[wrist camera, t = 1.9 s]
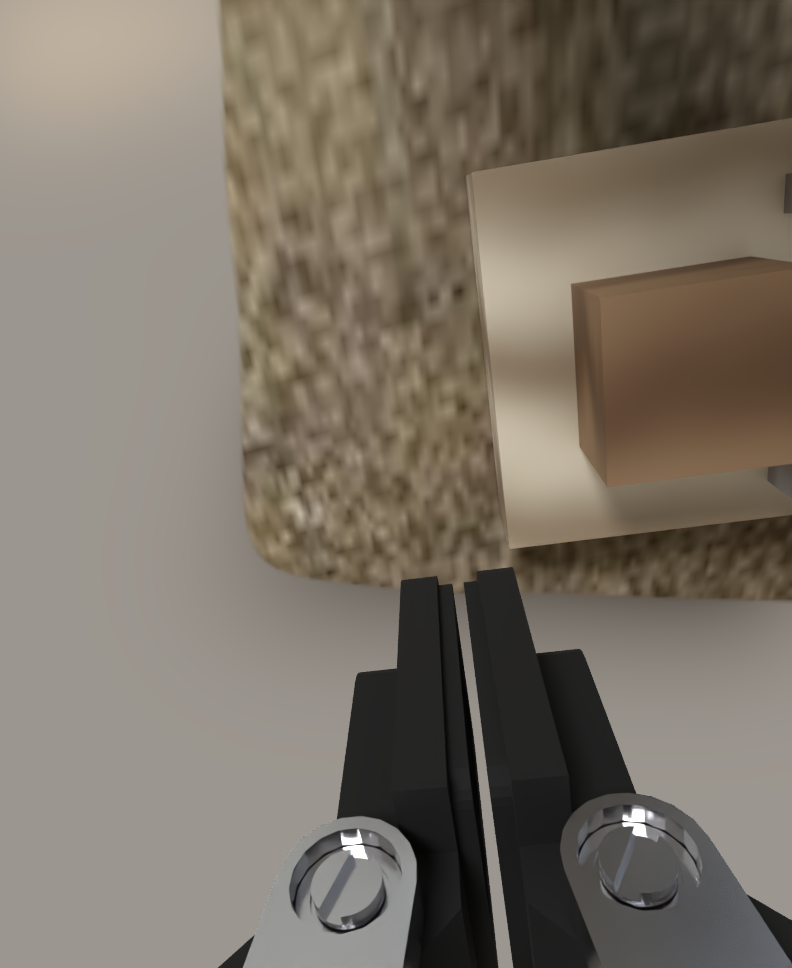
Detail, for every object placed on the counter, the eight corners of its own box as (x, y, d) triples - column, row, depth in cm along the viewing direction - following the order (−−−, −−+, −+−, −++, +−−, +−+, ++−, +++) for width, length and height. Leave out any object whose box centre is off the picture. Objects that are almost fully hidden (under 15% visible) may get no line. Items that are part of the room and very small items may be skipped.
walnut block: (570, 283, 23) (599, 298, 19) (750, 256, 23) (815, 265, 19) (579, 446, 25) (607, 487, 22) (743, 424, 25) (800, 462, 21)
